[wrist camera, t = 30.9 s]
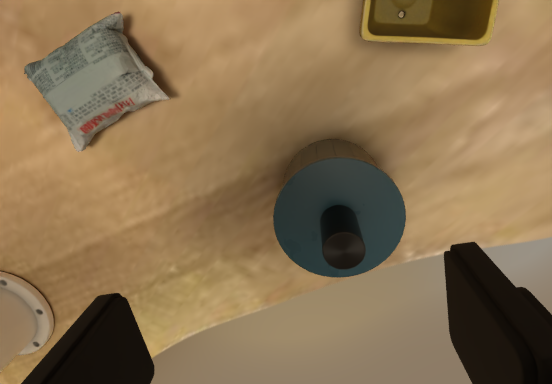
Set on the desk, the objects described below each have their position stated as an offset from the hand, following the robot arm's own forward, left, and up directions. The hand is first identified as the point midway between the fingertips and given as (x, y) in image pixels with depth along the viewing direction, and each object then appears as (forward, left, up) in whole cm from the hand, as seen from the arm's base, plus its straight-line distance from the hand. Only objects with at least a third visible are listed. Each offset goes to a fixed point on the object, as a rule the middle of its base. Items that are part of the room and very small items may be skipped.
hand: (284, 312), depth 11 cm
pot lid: (+2, -6, -20) cm, 21 cm away
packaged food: (-18, +8, -28) cm, 35 cm away
